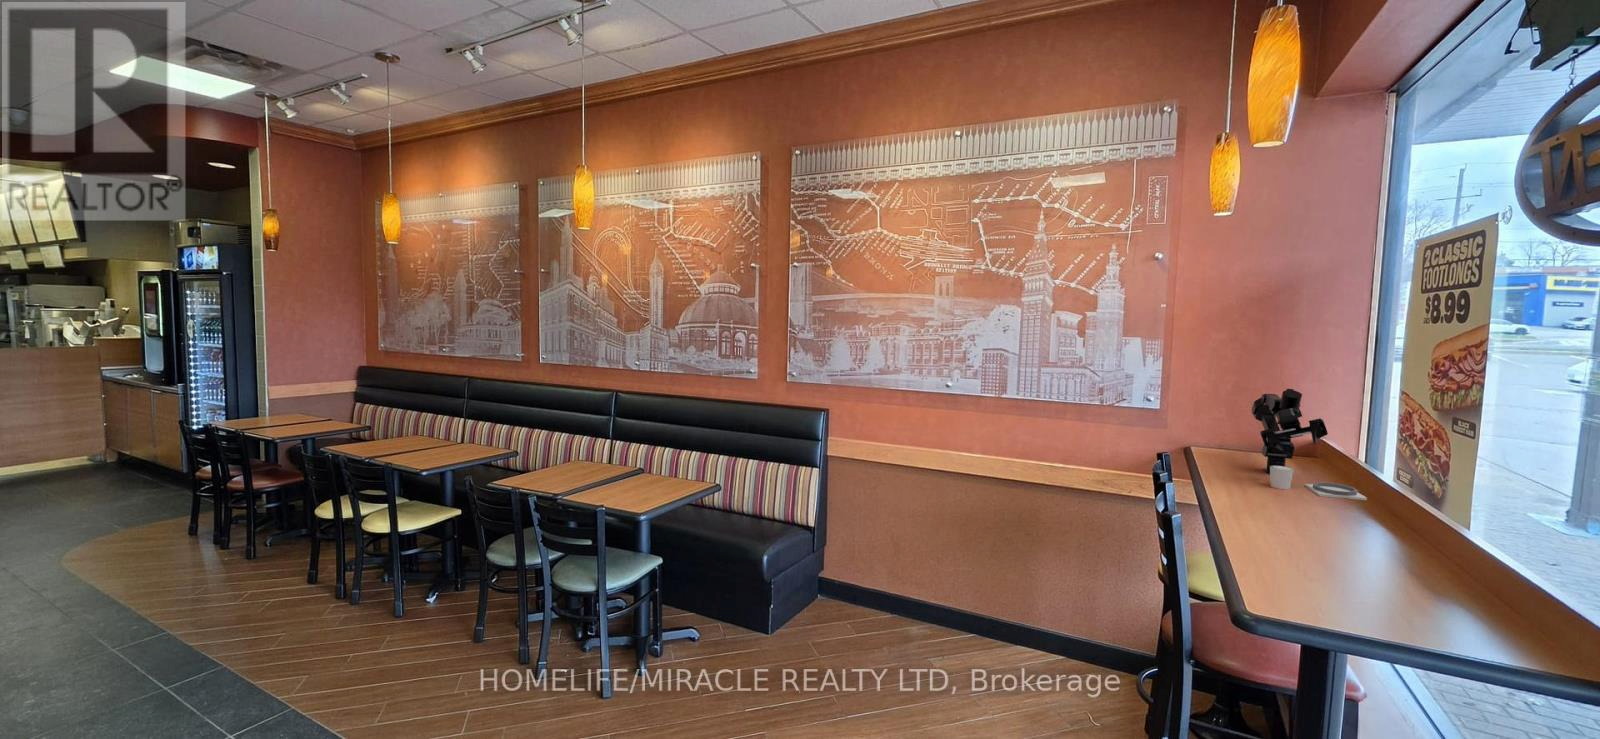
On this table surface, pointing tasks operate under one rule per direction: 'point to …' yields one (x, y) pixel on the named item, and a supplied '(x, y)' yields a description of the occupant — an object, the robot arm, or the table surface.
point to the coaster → (1335, 490)
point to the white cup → (1280, 477)
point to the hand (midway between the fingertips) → (1298, 446)
